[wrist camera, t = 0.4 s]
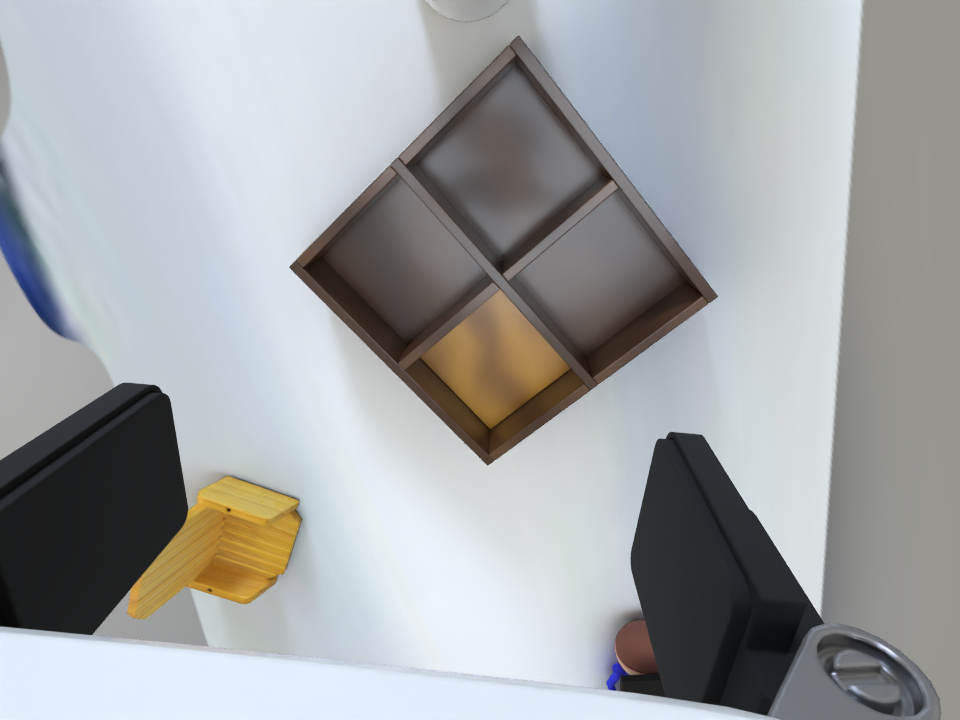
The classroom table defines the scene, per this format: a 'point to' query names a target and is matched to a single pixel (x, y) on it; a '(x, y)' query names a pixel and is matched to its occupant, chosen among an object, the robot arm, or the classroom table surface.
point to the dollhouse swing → (223, 547)
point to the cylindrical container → (466, 8)
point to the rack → (504, 260)
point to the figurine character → (635, 662)
